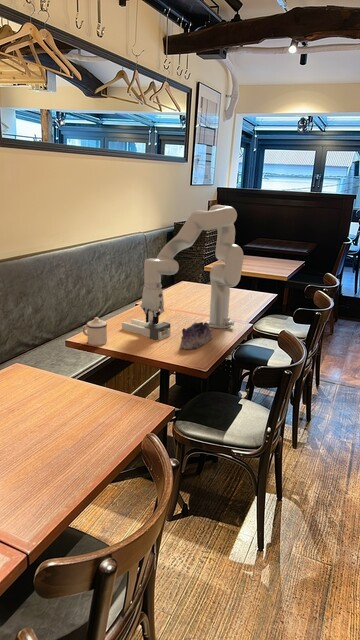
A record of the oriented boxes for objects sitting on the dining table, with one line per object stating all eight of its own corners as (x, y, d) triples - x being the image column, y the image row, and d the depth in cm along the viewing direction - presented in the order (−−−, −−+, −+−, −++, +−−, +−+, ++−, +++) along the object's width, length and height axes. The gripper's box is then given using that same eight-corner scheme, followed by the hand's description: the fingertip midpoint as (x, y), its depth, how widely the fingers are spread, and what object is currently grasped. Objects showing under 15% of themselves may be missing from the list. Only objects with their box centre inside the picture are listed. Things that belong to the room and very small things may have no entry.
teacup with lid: (111, 340, 207) (110, 316, 203) (101, 347, 199) (100, 322, 195) (88, 336, 211) (87, 313, 207) (77, 343, 203) (76, 318, 199)
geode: (198, 353, 195) (196, 331, 193) (175, 351, 201) (172, 330, 198) (216, 337, 213) (214, 317, 210) (194, 336, 218) (192, 316, 215)
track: (171, 334, 216) (172, 324, 215) (158, 340, 208) (158, 329, 207) (134, 324, 230) (134, 314, 228) (120, 329, 222) (119, 318, 220)
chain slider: (166, 332, 214) (167, 312, 211) (160, 335, 210) (160, 314, 207) (150, 327, 220) (150, 308, 217) (144, 330, 216) (144, 310, 213)
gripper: (171, 287, 208) (170, 324, 213) (144, 281, 217) (143, 317, 223) (161, 289, 202) (160, 328, 208) (133, 284, 211) (133, 321, 217)
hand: (152, 322), depth 215 cm, fingers open, 3 cm apart
